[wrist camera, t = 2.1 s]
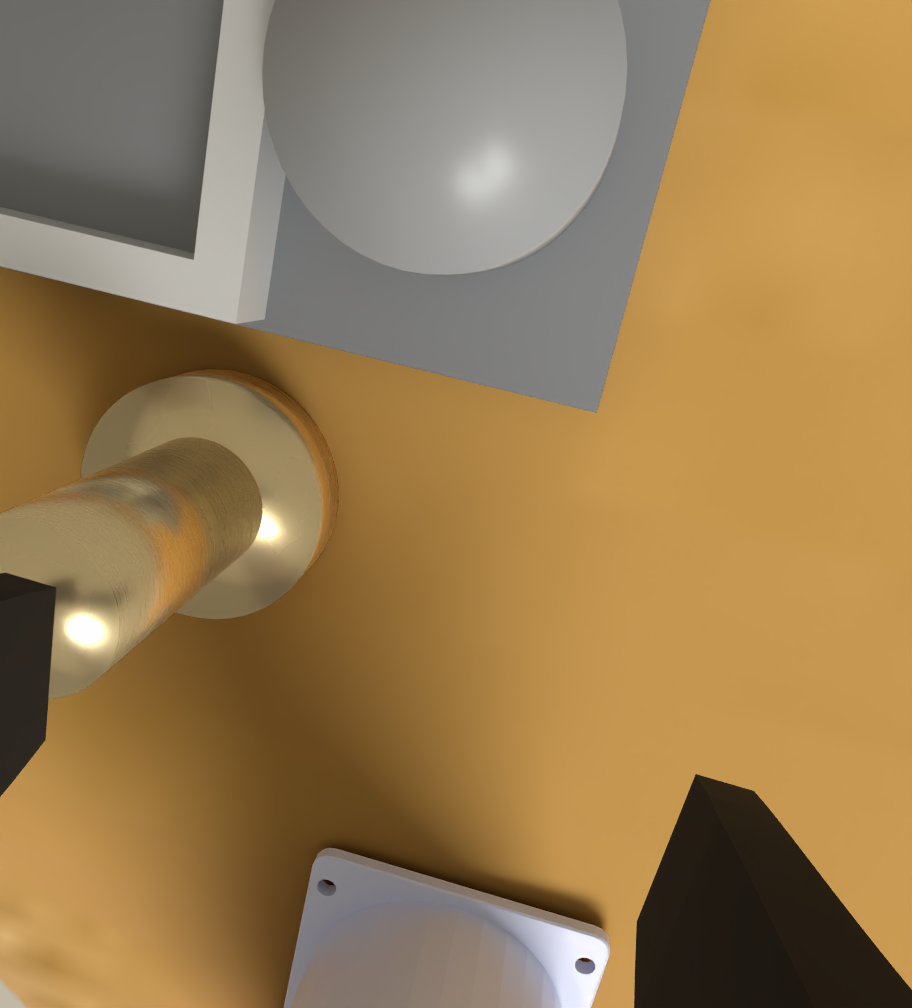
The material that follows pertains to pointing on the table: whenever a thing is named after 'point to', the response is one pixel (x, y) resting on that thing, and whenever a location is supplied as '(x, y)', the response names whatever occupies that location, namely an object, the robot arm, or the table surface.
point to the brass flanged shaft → (175, 516)
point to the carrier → (352, 168)
